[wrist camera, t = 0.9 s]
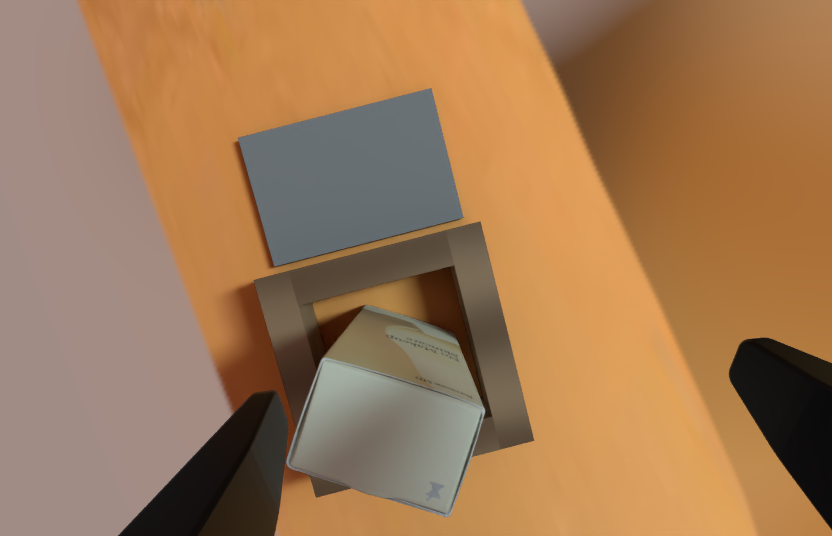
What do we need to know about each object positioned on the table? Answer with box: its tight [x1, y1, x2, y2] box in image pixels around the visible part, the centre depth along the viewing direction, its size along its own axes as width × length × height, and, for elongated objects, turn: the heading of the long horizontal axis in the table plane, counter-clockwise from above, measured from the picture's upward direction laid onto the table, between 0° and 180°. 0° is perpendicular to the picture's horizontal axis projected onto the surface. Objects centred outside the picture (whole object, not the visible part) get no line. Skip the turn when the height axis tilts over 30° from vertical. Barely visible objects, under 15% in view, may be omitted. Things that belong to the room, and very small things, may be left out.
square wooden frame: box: [254, 222, 534, 497], centre depth 25 cm, size 13×13×3 cm
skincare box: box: [286, 305, 485, 517], centre depth 20 cm, size 6×4×12 cm
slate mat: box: [238, 88, 463, 267], centre depth 25 cm, size 8×12×1 cm, turn 104°
